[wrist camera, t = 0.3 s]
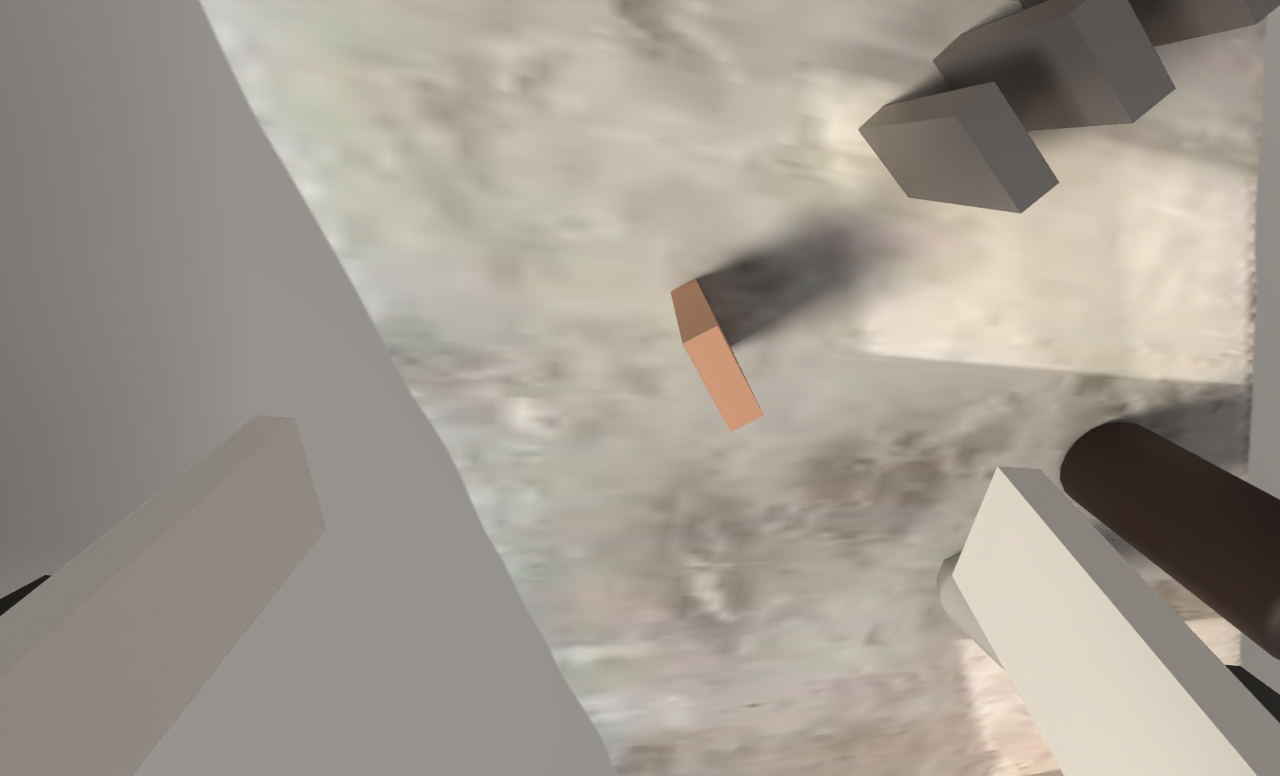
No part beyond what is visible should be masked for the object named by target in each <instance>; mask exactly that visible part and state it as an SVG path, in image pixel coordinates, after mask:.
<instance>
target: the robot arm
mask: <svg viewBox="0 0 1280 776" xmlns="http://www.w3.org/2000/svg"><path fill="white" fill-rule="evenodd" d="M325 530H326V526H325V523H324V519H323V516H322V512H321V508H320V505H319V501H318V498H317V494H316V491H315V487H314V484H313V480H312V477H311V473H310V469H309V466H308V462H307V459H306V455H305V452H304V448H303V445H302V442H301V437H300V434H299V431H298V427H297V423H296V420H295V418H287V417H272V416H257V415H256V416H254V417H253V418H252V419H250V420H249V421H248V422H246V423H245V424H244V425H243V426H241V427H240V428H239V429H238V430H236V431H235V432H234V433H233V434H231V435H230V436H229V437H227V438H226V439H225V440H224V441H222V442H221V443H220V444H219V445H217V446H216V447H215V448H214V449H212V450H211V451H210V452H208V453H207V454H206V455H205V456H203V457H202V458H201V459H199V460H198V461H197V462H196V463H195V464H193V465H192V466H191V467H189V468H188V469H187V470H186V471H185V472H183V473H182V474H181V475H179V476H178V477H177V478H176V479H174V480H173V481H172V482H170V483H169V484H168V485H166V486H165V487H164V488H163V489H161V490H160V491H159V492H158V493H156V494H155V495H154V496H153V497H151V498H150V499H149V500H147V501H146V502H145V503H144V504H142V505H141V506H140V507H139V508H137V509H136V510H135V511H133V512H132V513H131V514H130V515H128V516H127V517H126V518H125V519H123V520H122V521H121V522H119V523H118V524H117V525H116V526H115V527H113V528H112V529H111V530H109V531H108V532H107V533H105V534H104V535H103V536H102V537H101V538H99V539H98V540H97V541H95V542H94V543H93V544H92V545H91V546H89V547H88V548H86V549H85V550H84V551H83V552H81V553H80V554H79V555H78V556H76V557H75V558H74V559H72V560H71V561H70V562H69V563H68V564H66V565H65V566H64V567H62V568H61V569H60V570H58V571H57V572H56V573H55V574H53V575H52V576H49V575H44V576H43V577H41V578H39V579H37V580H35V581H33V582H31V583H30V584H28V585H26V586H24V587H22V588H20V589H18V590H16V591H15V592H13V593H11V594H9V595H7V596H5V597H3V598H1V599H0V776H132V775H133V774H134V773H135V772H136V770H137V769H138V768H139V766H140V765H141V764H142V763H143V761H144V760H145V759H146V757H147V756H148V755H149V754H150V753H151V751H152V750H153V749H154V747H155V746H156V745H157V744H158V742H159V741H160V740H161V739H162V737H163V736H164V734H165V733H166V732H167V731H168V730H169V728H170V727H171V726H172V724H173V723H174V722H175V721H176V719H177V718H178V717H179V716H180V714H181V713H182V712H183V711H184V709H185V708H186V707H187V705H188V704H189V703H190V702H191V700H192V699H193V698H194V697H195V695H196V694H197V693H198V691H199V690H200V689H201V687H202V686H203V685H204V684H205V683H206V681H207V680H208V679H209V678H210V676H211V675H212V674H213V672H214V671H215V670H216V669H217V667H218V666H219V665H220V664H221V662H222V661H223V660H224V658H225V657H226V656H227V655H228V653H229V652H230V651H231V650H232V648H233V647H234V646H235V644H236V643H237V642H238V641H239V639H240V638H241V637H242V636H243V634H244V633H245V632H246V630H247V629H248V628H249V627H250V625H251V624H252V623H253V622H254V620H255V619H256V618H257V616H258V615H259V614H260V613H261V611H262V610H263V609H264V608H265V606H266V605H267V604H268V602H269V601H270V600H271V599H272V597H273V596H274V595H275V594H276V592H277V591H278V590H279V589H280V587H281V586H282V585H283V583H284V582H285V581H286V579H287V578H288V577H289V576H290V575H291V573H292V572H293V571H294V569H295V568H296V567H297V566H298V564H299V563H300V562H301V561H302V559H303V558H304V557H305V555H306V554H307V553H308V552H309V550H310V549H311V548H312V547H313V545H314V544H315V543H316V541H317V540H318V539H319V538H320V536H321V535H322V534H323V533H324V531H325ZM952 577H953V578H954V580H955V582H956V584H957V586H958V587H959V589H960V591H961V593H962V595H963V596H964V598H965V600H966V602H967V603H968V605H969V607H970V609H971V611H972V612H973V614H974V616H975V618H976V620H977V621H978V623H979V625H980V627H981V628H982V630H983V632H984V634H985V636H986V637H987V639H988V641H989V643H990V645H991V646H992V648H993V650H994V652H995V653H996V655H997V657H998V659H999V661H1000V662H1001V664H1002V666H1003V668H1004V669H1005V671H1006V673H1007V675H1008V677H1009V678H1010V680H1011V682H1012V684H1013V686H1014V687H1015V689H1016V691H1017V693H1018V694H1019V696H1020V698H1021V700H1022V702H1023V703H1024V705H1025V707H1026V709H1027V711H1028V712H1029V714H1030V716H1031V718H1032V719H1033V721H1034V723H1035V725H1036V727H1037V728H1038V730H1039V732H1040V734H1041V736H1042V737H1043V739H1044V741H1045V743H1046V744H1047V746H1048V748H1049V750H1050V752H1051V753H1052V755H1053V757H1054V759H1055V760H1056V762H1057V764H1058V766H1059V768H1060V769H1061V771H1062V773H1063V775H1064V776H1280V695H1279V694H1278V693H1276V692H1275V691H1274V690H1272V689H1271V688H1270V687H1268V686H1267V685H1265V684H1264V683H1263V682H1261V681H1260V680H1259V679H1257V678H1256V677H1254V676H1253V675H1252V674H1250V673H1249V672H1247V671H1246V670H1245V669H1243V668H1242V667H1241V666H1232V665H1224V664H1223V663H1222V662H1221V661H1220V660H1219V658H1218V657H1217V656H1216V655H1215V654H1214V653H1213V652H1212V651H1211V650H1210V649H1209V648H1208V647H1207V646H1206V645H1205V644H1204V643H1203V642H1202V640H1201V639H1200V638H1199V637H1198V636H1197V635H1196V634H1195V633H1194V632H1193V631H1192V630H1191V629H1190V628H1189V627H1188V626H1187V625H1186V624H1185V622H1184V621H1183V620H1182V619H1181V618H1180V617H1179V616H1178V615H1177V614H1176V613H1175V612H1174V611H1173V610H1172V609H1171V608H1170V607H1169V605H1168V604H1167V603H1166V602H1165V601H1164V600H1163V599H1162V598H1161V597H1160V596H1159V595H1158V594H1157V593H1156V592H1155V591H1154V590H1153V589H1152V587H1151V586H1150V585H1149V584H1148V583H1147V582H1146V581H1145V580H1144V579H1143V578H1142V577H1141V576H1140V575H1139V574H1138V573H1137V572H1136V571H1135V569H1134V568H1133V567H1132V566H1131V565H1130V564H1129V563H1128V562H1127V561H1126V560H1125V559H1124V558H1123V557H1122V556H1121V555H1120V554H1119V553H1118V551H1117V550H1116V549H1115V548H1114V547H1113V546H1112V545H1111V544H1110V543H1109V542H1108V541H1107V540H1106V539H1105V538H1104V537H1103V536H1102V534H1101V533H1100V532H1099V531H1098V530H1097V529H1096V528H1095V527H1094V526H1093V525H1092V524H1091V523H1090V522H1089V521H1088V520H1087V519H1086V518H1085V516H1084V515H1083V514H1082V513H1081V512H1080V511H1079V510H1078V509H1077V508H1076V507H1075V506H1074V505H1073V504H1072V503H1071V502H1070V501H1069V500H1068V498H1067V497H1066V496H1065V495H1064V494H1063V493H1062V492H1061V491H1060V490H1059V489H1058V488H1057V487H1056V486H1055V485H1054V484H1053V483H1052V482H1051V480H1050V479H1049V478H1048V477H1047V476H1046V475H1045V474H1044V473H1043V472H1042V471H1041V470H1040V469H1027V468H1013V467H998V466H997V469H996V471H995V474H994V476H993V478H992V481H991V483H990V486H989V488H988V490H987V493H986V495H985V498H984V500H983V502H982V505H981V507H980V509H979V512H978V514H977V517H976V519H975V521H974V524H973V526H972V529H971V531H970V533H969V536H968V538H967V541H966V543H965V545H964V548H963V550H962V553H961V555H960V557H959V560H958V562H957V564H956V567H955V569H954V572H953V574H952Z"/></svg>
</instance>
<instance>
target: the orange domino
mask: <svg viewBox="0 0 1280 776" xmlns="http://www.w3.org/2000/svg"><path fill="white" fill-rule="evenodd" d="M671 295H672V300H673V304H674V308H675V313H676V317H677V321H678V326H679V330H680V334H681V339H682V343H683V345H684V347H685V349H686V351H687V353H688V354H689V356H690V358H691V360H692V362H693V364H694V365H695V367H696V369H697V371H698V373H699V375H700V376H701V378H702V380H703V382H704V384H705V386H706V387H707V389H708V391H709V393H710V395H711V397H712V398H713V400H714V402H715V404H716V406H717V408H718V410H719V411H720V413H721V415H722V417H723V419H724V421H725V422H726V424H727V426H728V428H729V430H730V432H731V431H733V430H735V429H737V428H739V427H741V426H743V425H745V424H747V423H749V422H752V421H754V420H756V419H758V418H760V417H762V416H764V415H763V413H762V411H761V409H760V407H759V405H758V403H757V401H756V399H755V396H754V394H753V392H752V390H751V388H750V386H749V384H748V382H747V380H746V378H745V376H744V374H743V372H742V370H741V367H740V365H739V363H738V361H737V359H736V357H735V355H734V353H733V351H732V349H731V347H730V345H729V343H728V341H727V339H726V337H725V335H724V333H723V331H722V329H721V327H720V325H719V323H718V321H717V319H716V317H715V315H714V314H713V312H712V310H711V308H710V306H709V304H708V302H707V300H706V298H705V296H704V294H703V292H702V290H701V288H700V286H699V284H698V282H697V280H696V279H694V280H693V281H691V282H689V283H687V284H685V285H683V286H681V287H680V288H678V289H676V290H674V291H672V292H671Z"/></svg>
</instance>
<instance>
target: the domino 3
mask: <svg viewBox="0 0 1280 776" xmlns="http://www.w3.org/2000/svg"><path fill="white" fill-rule="evenodd" d="M1019 1H1020V3H1021V4H1022V6H1023V8H1024V9H1028V8H1031V7H1033V6H1036V5H1038V4H1041V3H1044V2H1046V1H1049V0H1019ZM1128 1H1129V3H1130V5H1131V7H1132V9H1133V10H1134V12H1135V14H1136V16H1137V18H1138V20H1139V21H1140V23H1141V25H1142V27H1143V29H1144V31H1145V33H1146V34H1147V36H1148V38H1149V40H1150V42H1151V44H1152V45H1153V47H1154V46H1159V45H1163V44H1168V43H1173V42H1177V41H1182V40H1186V39H1191V38H1196V37H1200V36H1205V35H1209V34H1214V33H1218V32H1223V31H1228V30H1232V29H1237V28H1241V27H1246V26H1251V25H1255V24H1257V23H1258V22H1259V21H1260V20H1262V19H1263V18H1264V17H1265V16H1267V15H1268V14H1269V13H1270V12H1272V11H1273V10H1274V9H1275V8H1277V7H1278V6H1279V5H1280V0H1128Z"/></svg>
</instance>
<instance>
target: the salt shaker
mask: <svg viewBox="0 0 1280 776" xmlns="http://www.w3.org/2000/svg"><path fill="white" fill-rule="evenodd" d="M960 555H961V553H959V554H957V555H955V556H953V557H951V558H949V559H946V560H944V562H943V564H942V567H941V570H940V572H939V575H938V578H937V585H938V596H939V600H940V603H941V605H942V606H943V608H944V610H945V612H946V613H947V615H948V616H949V617H950V618H951V619H952V620H953V621H954V622H955V623H956V624H957V625H958V626H959V627H960V628H961V629H962V630H963V631H964V632H965V633H966V634H968V635H969V636H970V637H971V638H972V639H973V640H974V641H975V642H976V643H977V644H978V645H979V646H980V647H981V648H982V649H983V650H984V651H985V652H986V653H987V654H988V655H989V656H990V657H991V658H992V659H993V660H994V661H995V662H996V663H997V664H999V665H1000V666H1001V667H1002V668H1003V666H1002V664H1001V662H1000V661H999V659H998V657H997V655H996V653H995V652H994V650H993V648H992V646H991V645H990V643H989V641H988V639H987V637H986V636H985V634H984V632H983V630H982V628H981V627H980V625H979V623H978V621H977V620H976V618H975V616H974V614H973V612H972V611H971V609H970V607H969V605H968V603H967V602H966V600H965V598H964V596H963V595H962V593H961V591H960V589H959V587H958V586H957V584H956V582H955V580H954V578H953V577H952V574H953V572H954V569H955V567H956V564H957V562H958V560H959V557H960ZM1003 669H1004V668H1003ZM1004 670H1005V669H1004Z"/></svg>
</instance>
